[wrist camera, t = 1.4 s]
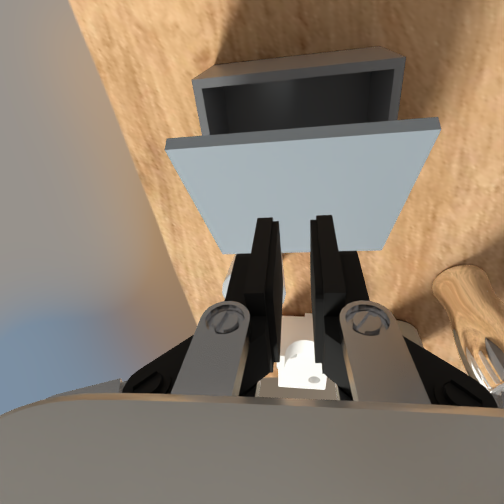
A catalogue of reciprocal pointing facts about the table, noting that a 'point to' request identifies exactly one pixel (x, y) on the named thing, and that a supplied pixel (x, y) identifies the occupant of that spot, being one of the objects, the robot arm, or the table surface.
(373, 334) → the robot arm
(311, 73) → the storage box
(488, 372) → the silver metal tumbler
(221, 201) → the lid
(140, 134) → the table surface
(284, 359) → the bracket
